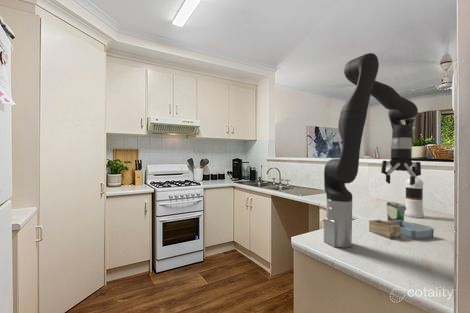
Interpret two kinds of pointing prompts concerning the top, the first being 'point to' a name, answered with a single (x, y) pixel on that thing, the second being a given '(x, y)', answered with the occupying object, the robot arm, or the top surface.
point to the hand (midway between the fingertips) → (399, 184)
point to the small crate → (384, 229)
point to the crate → (413, 230)
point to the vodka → (414, 198)
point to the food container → (395, 211)
